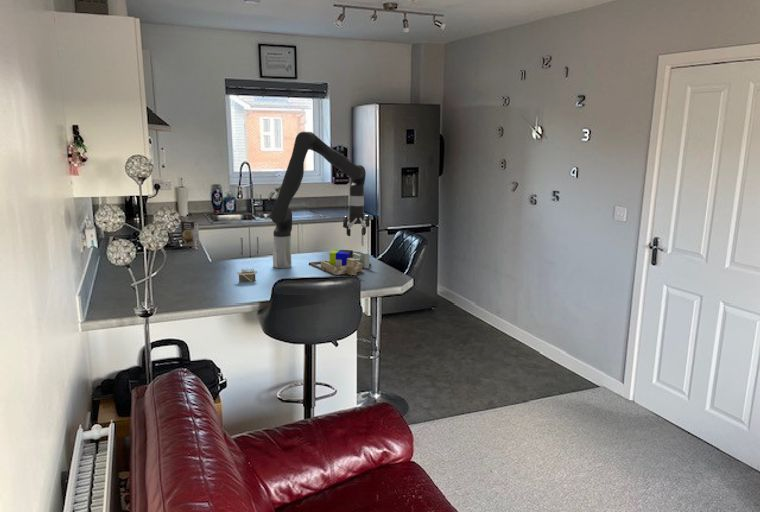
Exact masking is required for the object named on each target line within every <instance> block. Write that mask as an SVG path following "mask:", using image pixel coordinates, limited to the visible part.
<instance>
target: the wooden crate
mask: <svg viewBox="0 0 760 512" xmlns="http://www.w3.org/2000/svg"><path fill="white" fill-rule="evenodd" d="M256 274H258V270H255V269H254V268H246V269H245V268H243V269H242V268H241V271H237V272H236V275H238V282H239V283H241V282H244V283H245V282H250V283H251V282H255V281H256Z"/></svg>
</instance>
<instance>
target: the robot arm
mask: <svg viewBox="0 0 760 512" xmlns="http://www.w3.org/2000/svg"><path fill="white" fill-rule="evenodd" d="M309 150H310V151H313V152H315V153H317V154H319V155H320V156H321V157H322V158H324V159H325V160H326V161H327V162H328V163H329V164H331V165H332V166H334V167H335V168H337V169H338V170H340V171H341V172H342V173H344V174H345V175H346V176H347V177H349V178H350V179H352V182H351V184H350V186H349V199H348V206H349V207H348V209H349V210H348V211H349V212H348V213H349V215H348V216H346V215H343V219H342V220H343V222H342V228H344V229H346V235H347V236H348V237H351V231H352V230H351V229H352V227H353V226H354V225H360V226H361V235H362V236H365V235H366V233H367V228H368V227H370V215H369V214H368V215H367V214H365V198H364V194H365V193H364V187H365V181H366V173H367V171H366V169H365V167H364V166H363V165H362V164H361V165H360V164H357V165H356V164H354V163H353V162H352V161H351V160H350V159H349V158H348V157H347V156H345V155H344V154H342V153H340V152H338V151H337V150H335V149H334V148H333V147H330V146H329V145H328V144H327V143H325V142H324V141H323V140H322V139H320V138H319V137H318V136H317V135H316V134H315V133H314V132H312V131H305V130H304V131H300V132H299V133H298V134H297V135H296V137H295V139H294V143H293V148H292V153H291V157H290V159H289V162H288V165H287V168H286V170H285V174H284V177H283V179H282V183H281V185H280V189H279V192H278V194H277V198H276V200H275V202H274V205H273V206H272V209H271V212H270V219H271V222H272V223H274V224H275V225H276V226H275V228H274V230H273V249H272V267H274V268H276V269H288V268H291V267H292V229H293V212H292V209H291V208H290V203H291V202H292V200H293V198H294V196H295V195H296V194H297V192H298V191H299V189H300V186H301V184H302V182H303V178H304V174H305V170H304V169H305V167H304V166H305V159H306V156H307V154H308V152H309ZM364 214H365V215H364Z"/></svg>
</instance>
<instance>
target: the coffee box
mask: <svg viewBox="0 0 760 512" xmlns="http://www.w3.org/2000/svg"><path fill="white" fill-rule="evenodd" d="M180 226H181V227H180V228H181V229H180V230H181V246H182V247H197V246H200V232H199V231H200V230H199V220H190V219H189V220H188V219H186V220H181V221H180Z"/></svg>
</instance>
